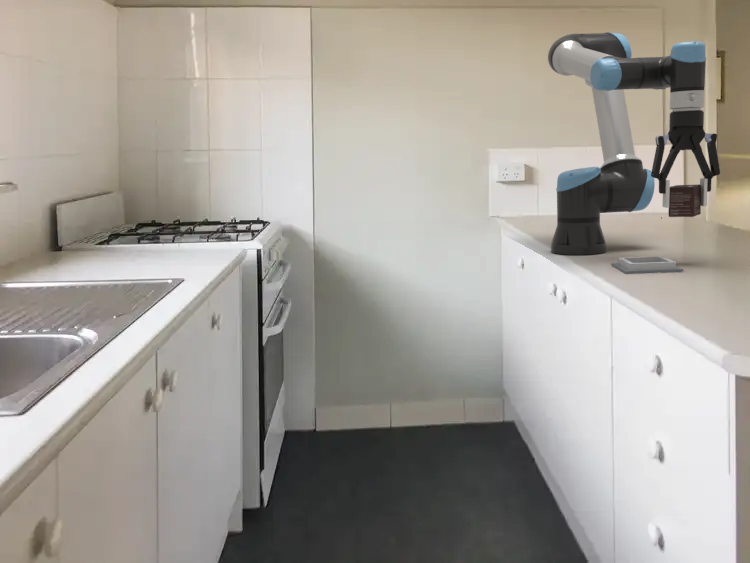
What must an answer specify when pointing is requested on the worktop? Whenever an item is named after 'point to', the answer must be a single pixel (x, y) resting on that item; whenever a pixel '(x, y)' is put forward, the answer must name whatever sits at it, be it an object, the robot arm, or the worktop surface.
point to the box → (685, 201)
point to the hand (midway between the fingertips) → (684, 206)
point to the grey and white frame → (646, 265)
